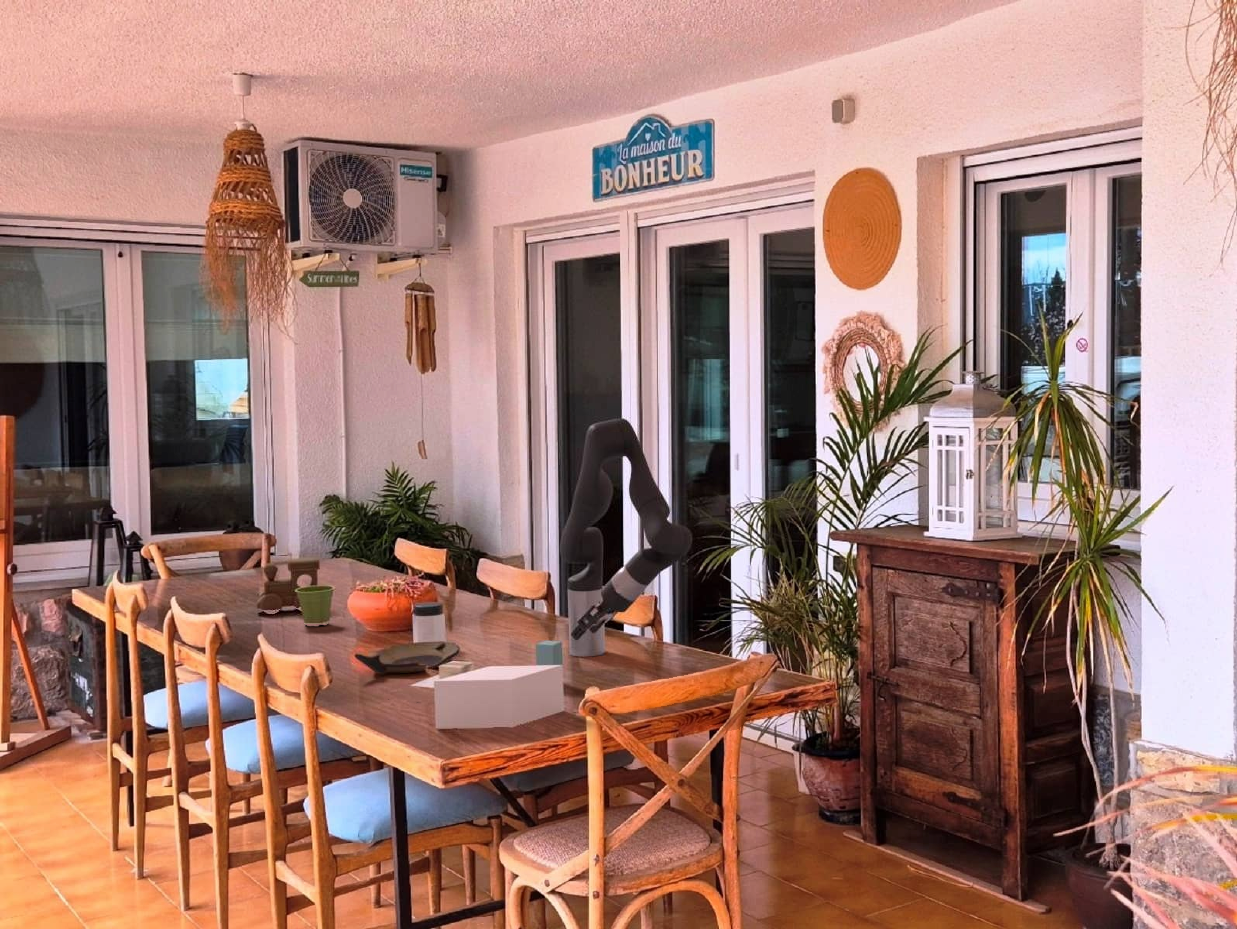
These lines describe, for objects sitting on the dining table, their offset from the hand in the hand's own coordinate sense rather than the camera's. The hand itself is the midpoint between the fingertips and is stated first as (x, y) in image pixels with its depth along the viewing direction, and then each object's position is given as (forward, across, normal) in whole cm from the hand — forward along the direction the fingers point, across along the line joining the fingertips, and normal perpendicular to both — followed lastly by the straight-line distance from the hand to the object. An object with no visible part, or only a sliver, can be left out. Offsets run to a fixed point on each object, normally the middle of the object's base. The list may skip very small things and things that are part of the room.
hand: (582, 633), depth 308 cm
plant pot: (+90, -44, -72) cm, 124 cm away
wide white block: (+11, +32, +7) cm, 35 cm away
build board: (+30, +8, -12) cm, 34 cm away
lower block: (+30, +8, -13) cm, 33 cm away
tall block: (+15, 0, +3) cm, 16 cm away
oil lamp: (+45, 0, -27) cm, 53 cm away
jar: (+53, -27, -35) cm, 69 cm away
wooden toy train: (+108, -61, -90) cm, 153 cm away
